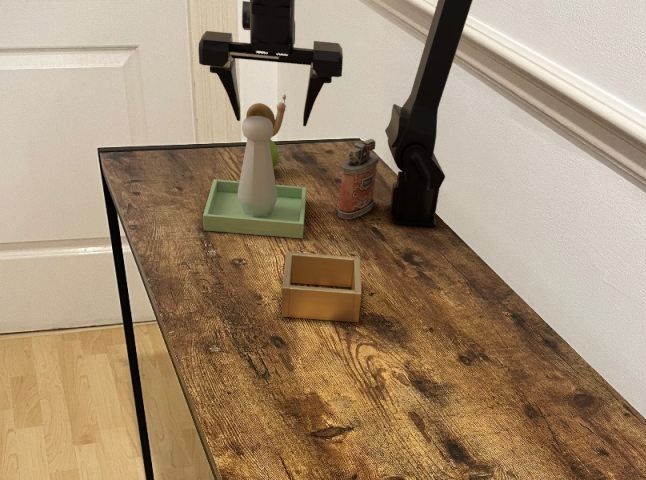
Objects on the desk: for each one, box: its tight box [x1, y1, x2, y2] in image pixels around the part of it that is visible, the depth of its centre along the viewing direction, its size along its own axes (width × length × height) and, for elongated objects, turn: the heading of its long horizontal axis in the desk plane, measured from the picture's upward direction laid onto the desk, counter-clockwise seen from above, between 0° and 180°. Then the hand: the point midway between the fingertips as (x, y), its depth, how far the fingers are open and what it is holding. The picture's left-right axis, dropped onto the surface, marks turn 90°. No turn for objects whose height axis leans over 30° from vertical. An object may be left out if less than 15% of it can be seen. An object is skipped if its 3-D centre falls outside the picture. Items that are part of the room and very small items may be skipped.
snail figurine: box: [245, 93, 287, 169], centre depth 125 cm, size 5×6×12 cm
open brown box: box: [281, 251, 362, 323], centre depth 99 cm, size 10×10×4 cm
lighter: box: [337, 138, 380, 220], centre depth 118 cm, size 8×3×10 cm, turn 148°
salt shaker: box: [238, 116, 277, 217], centre depth 112 cm, size 6×6×13 cm
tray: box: [202, 178, 307, 239], centre depth 116 cm, size 14×13×2 cm
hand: (271, 122), depth 109 cm, fingers open, 9 cm apart
